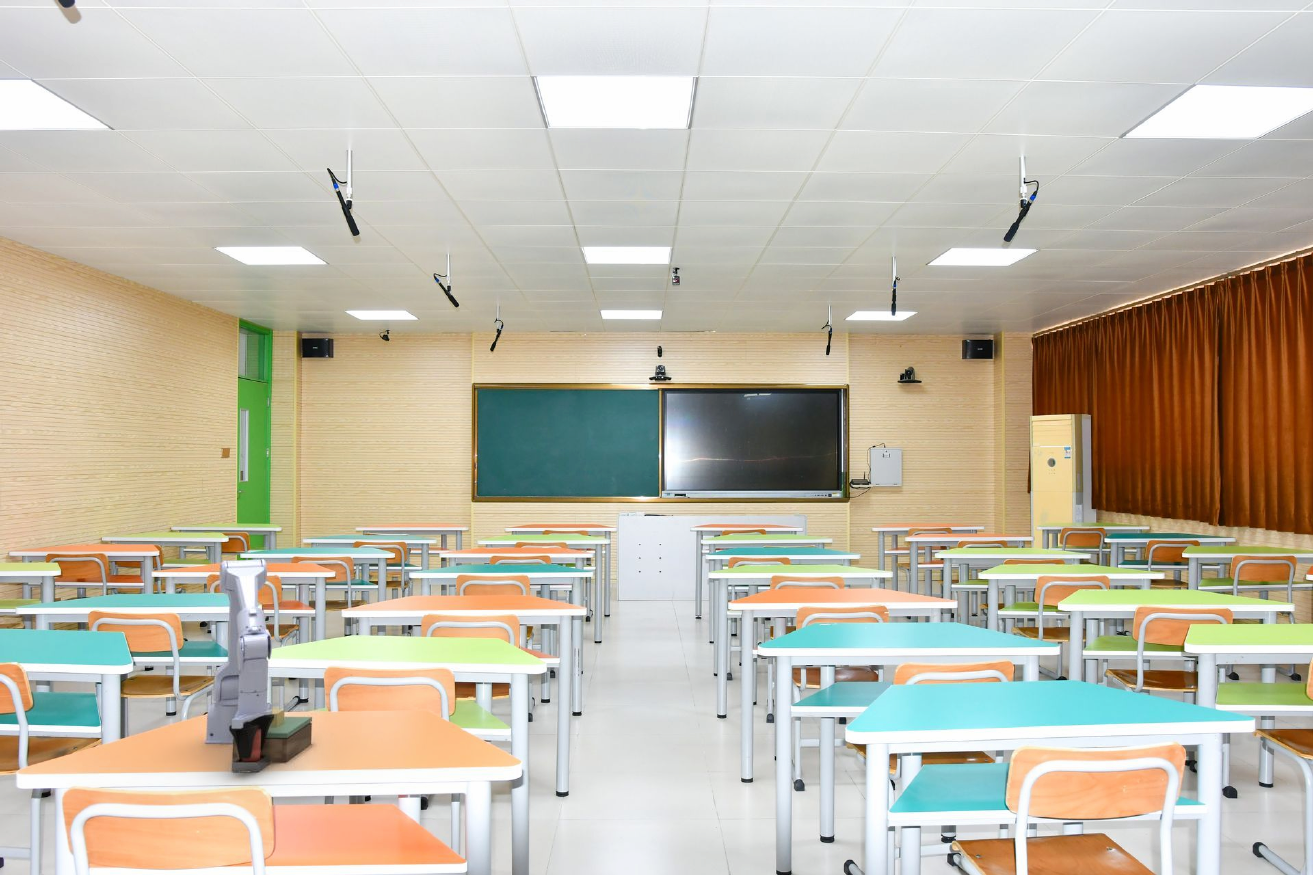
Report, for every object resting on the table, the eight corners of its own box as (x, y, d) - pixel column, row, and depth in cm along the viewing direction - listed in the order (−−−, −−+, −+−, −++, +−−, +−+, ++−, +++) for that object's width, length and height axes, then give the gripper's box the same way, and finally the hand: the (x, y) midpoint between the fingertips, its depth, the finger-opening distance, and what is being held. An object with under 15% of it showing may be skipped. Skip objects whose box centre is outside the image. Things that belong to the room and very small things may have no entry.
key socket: (231, 771, 188) (232, 762, 188) (244, 763, 193) (244, 754, 194) (257, 772, 188) (258, 762, 188) (269, 763, 193) (269, 754, 194)
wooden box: (232, 762, 195) (232, 739, 195) (260, 743, 209) (261, 722, 209) (286, 762, 195) (286, 739, 195) (311, 743, 209) (311, 722, 209)
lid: (233, 737, 195) (233, 719, 195) (261, 720, 209) (262, 703, 209) (287, 737, 195) (287, 719, 195) (311, 721, 209) (312, 703, 209)
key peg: (238, 770, 189) (239, 732, 189) (246, 765, 192) (247, 728, 193) (255, 770, 189) (256, 732, 189) (262, 765, 192) (264, 728, 193)
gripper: (256, 697, 184) (254, 764, 183) (285, 682, 199) (284, 744, 198) (222, 697, 184) (220, 763, 183) (254, 682, 199) (252, 744, 198)
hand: (251, 753), depth 191 cm, fingers open, 5 cm apart
